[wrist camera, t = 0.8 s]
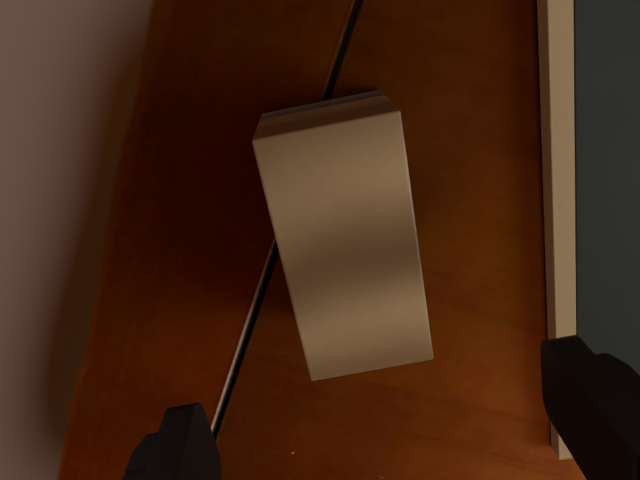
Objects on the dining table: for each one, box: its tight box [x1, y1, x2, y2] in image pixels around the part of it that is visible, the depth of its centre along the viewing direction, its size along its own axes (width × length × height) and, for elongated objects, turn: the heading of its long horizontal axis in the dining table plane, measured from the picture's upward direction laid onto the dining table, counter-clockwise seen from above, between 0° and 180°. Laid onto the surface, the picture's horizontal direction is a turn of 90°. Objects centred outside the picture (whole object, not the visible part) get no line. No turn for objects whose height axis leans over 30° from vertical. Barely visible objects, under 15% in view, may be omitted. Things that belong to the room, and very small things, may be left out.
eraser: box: [252, 90, 433, 381], centre depth 22 cm, size 10×5×5 cm, turn 11°
